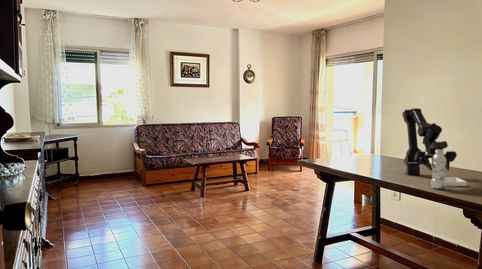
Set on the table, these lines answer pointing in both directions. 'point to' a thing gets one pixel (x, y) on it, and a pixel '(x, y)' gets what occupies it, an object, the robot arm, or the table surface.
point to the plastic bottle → (438, 169)
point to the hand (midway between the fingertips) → (439, 170)
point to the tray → (455, 182)
